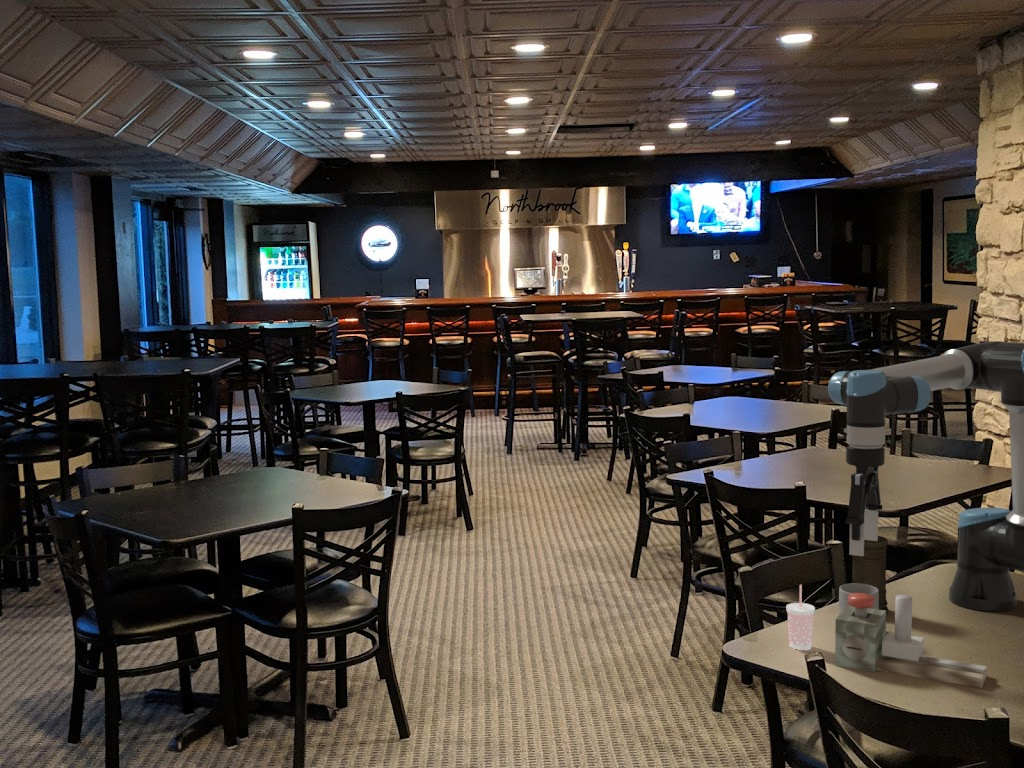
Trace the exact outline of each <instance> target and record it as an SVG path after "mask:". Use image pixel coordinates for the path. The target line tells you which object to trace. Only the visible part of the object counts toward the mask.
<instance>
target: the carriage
mask: <svg viewBox="0 0 1024 768" xmlns="http://www.w3.org/2000/svg"><path fill="white" fill-rule="evenodd" d="M894 599H895V605H894V606H895V607H894V608H895V609H894V610H895V611H894V632H891V631H889V632H887V633H886V636H885V638H884V639H883V641H882V655H883V656H889V657H895V658H901V659H907V660H913V661H918V660H919V659H920V657H921V656H923V653H924V645H925V644H924V643H925V642H924V637H922V636H915V635H912V620H913V616H912V615H913V596H910V595H908V594H897V595H895V597H894Z"/></svg>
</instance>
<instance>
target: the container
mask: <svg viewBox="0 0 1024 768" xmlns="http://www.w3.org/2000/svg"><path fill="white" fill-rule="evenodd" d="M888 544H889V540H888V539H887V538H886V537H884V536H881V535H878V541H871V540H864V556H857V555H851V557H852V560H851V563H852V565H851V573H852V574H851V580H852V581H851V583H859V584H867V585H871V586H874V587H876V588H877V589H878V591H879V610H885V611H886V615H888V612H889V608H888V604H889V603H888V600H887V588H886V587H887V585H886V584H887V583H886V581H887V574H886V573H887V558H888V557H887V552H886V551H887V549H888Z"/></svg>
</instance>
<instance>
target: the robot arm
mask: <svg viewBox="0 0 1024 768" xmlns="http://www.w3.org/2000/svg"><path fill="white" fill-rule="evenodd" d="M947 388H950V389H952V390H956V391H957V390H958V391H959V390H963V389H974V390H982V391H983V390H984V391H993V392H999V393H1000V401H1001V405H1003V406H1004V407H1005V408H1006V409H1007V410H1008V415H1009V416H1008V417H1009V418H1008V419H1009V440H1010V443H1009V445H1010V446H1009V447H1010V464H1011V465H1010V468H1011V472H1010V473H1011V490H1012V491H1011V492H1012V496H1011V497H1012V510H1010V509H1008V508H1004V507H976V508H968V509H964V510H963V511H961V512H960V514H959V515H958V523H957V564H956V565H957V569H956V571H955V574H954V576H953V580H952V583H951V585H950V586H949V590H948V599H949V601H950V602H952V603H954V604H955V605H958V606H959V607H963V608H966V609H972V610H977V611H986V612H998V611H999V612H1000V611H1008V610H1011V609H1012V610H1013V609H1015V606H1016V607H1017V604H1018V603H1017V602H1018V600H1017V599H1018V598H1017V596H1018V595H1017V593H1016V591H1015V586H1014V584H1013V580H1012V577H1011V574H1010V569H1011V570H1015V571H1018V572H1021V573H1024V342H1022V341H1021V342H1016V341H1015V342H1014V341H1012V342H1011V341H1001V340H1000V341H998V340H997V341H994V340H993V341H992V340H991V341H986V342H980V343H975V344H970V345H966V346H961V347H957V348H956V347H955V348H951V349H949V350H946V351H944V352H943V353H942V355H938V356H933V357H928V358H923V359H918V360H917V359H916V360H913V361H908V362H904V363H897V364H891V365H887V366H882V367H877V368H872V369H858V370H857V369H856V370H852V371H849V370H845V371H838V372H836V373H834V374H833V375H832V376H831V377H830V379H829V382H828V387H827V390H828V396H829V398H830V399H831V400H832V402H834V403H835V404H838V405H842V406H845V407H846V427H845V428H843V429H844V430H843V432H844V433H845V434H846V443H847V444H848V445H847V446H846V448H845V449H846V450H845V462H846V464H848V465H849V466H853V467H855V468H856V469H855V473H851V475H850V481H851V482H850V491H849V492H850V493H849V499H848V500H849V502H848V511H847V518H845V521H844V522H845V524H847V525H849V554H848V555H849V556H850V555H851V556H852V555H857V556H864V540H871V541H878V536H879V511H882V510H883V504H881V502H882V501H881V492H880V480H879V467H882V466H883V465H884V464H885V458H886V456H885V453H886V452H885V451H886V450H885V448H884V445H885V444H886V416H889V415H895V414H896V415H898V414H905V413H908V414H913V413H915V412H920V411H923V410H924V409H926V408H927V407H928V405H929V404H930V402H931V400H932V399H931V397H932V392H934V391H938V390H943V389H947Z"/></svg>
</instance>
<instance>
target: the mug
mask: <svg viewBox="0 0 1024 768" xmlns="http://www.w3.org/2000/svg"><path fill="white" fill-rule="evenodd" d="M852 593H866V594H870V595H872V596H874V606H873V607H871V609H878V610H879V591H878V589H877V588H876V587H874V586H871V585H867V584H859V583H852V582H851V583H845V584H842V585H840V586H839V590H838V615H839V614H840V613H841V612H842V611H843V610H844V609H845V607H846V606H847V605H849V604H848V595H849V594H852Z"/></svg>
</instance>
